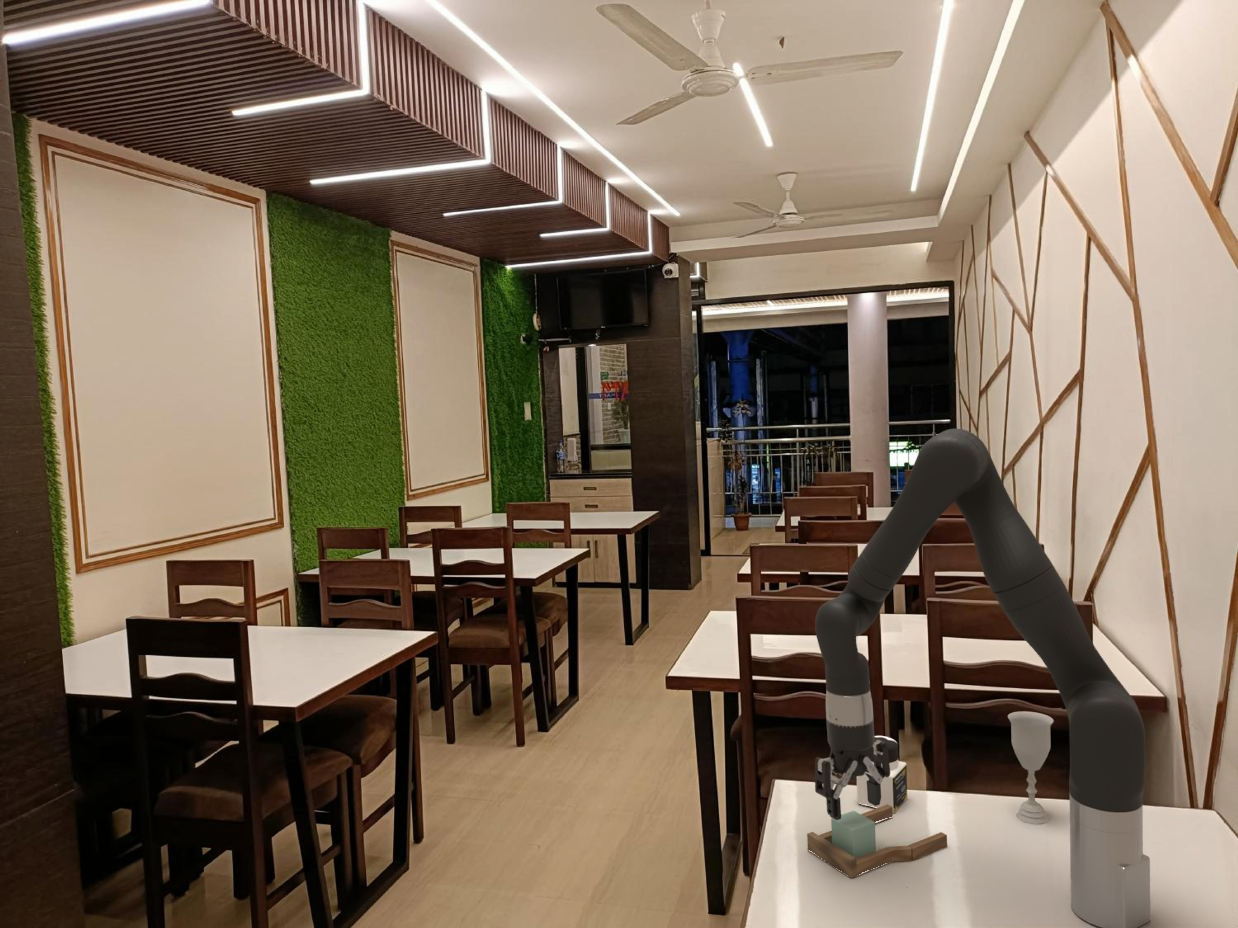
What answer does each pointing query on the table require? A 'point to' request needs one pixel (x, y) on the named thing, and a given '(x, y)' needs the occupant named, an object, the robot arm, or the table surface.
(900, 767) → the medicine bottle
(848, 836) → the teal block
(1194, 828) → the table surface
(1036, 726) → the chalice
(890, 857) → the keyhole rail
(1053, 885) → the table surface
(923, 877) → the table surface
